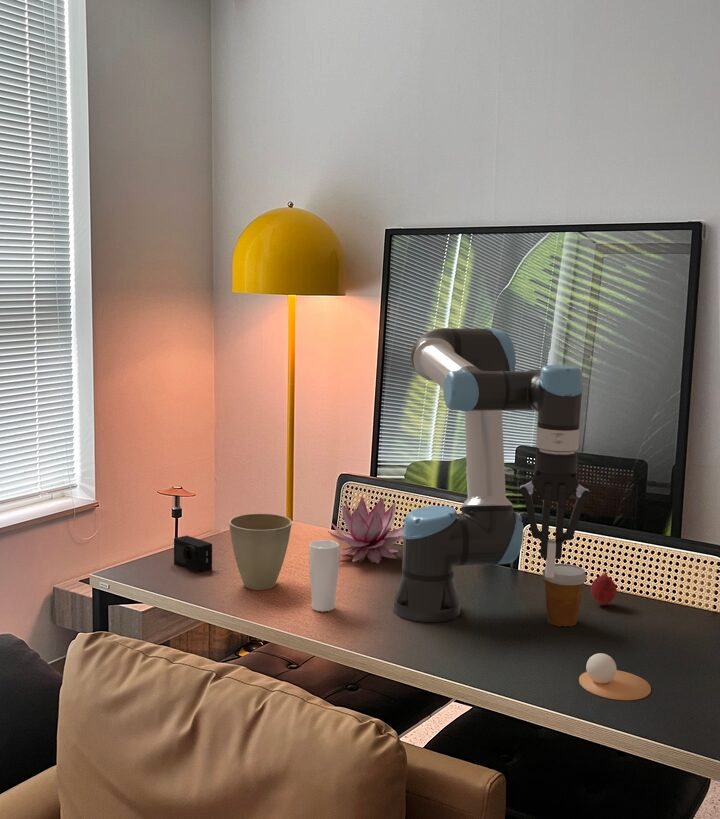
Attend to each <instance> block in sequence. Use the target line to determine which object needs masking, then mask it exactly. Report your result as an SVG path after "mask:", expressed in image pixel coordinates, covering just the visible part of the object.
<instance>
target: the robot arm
mask: <svg viewBox="0 0 720 819" xmlns="http://www.w3.org/2000/svg"><path fill="white" fill-rule="evenodd" d="M516 357H517V356H516V350H515V346H514V343H513V339H511V337H510V336H509V334H508V333H507V332H506V331H504V330H502V329H493V328H489V327H486V328H457V327H456V328H453V327H450V328H449V327H442V328H436V329H431V330H430V331H428V332H425V333H424V334H422V335H420V337H418V339H417V340H415V343H414V344H413V345H412V348H411V351H410V363H411V366H412V368H413V369H414V371H415V372H416V373H417V374H418V375H419V376H420V377H421V378H423V379H424V380H428V381H433V382H434V383H436V385H438V386H439V387H440V388H442V389H443V390H442V391H443V392H442V394H443V400H444V402H445V406H446V407H447V408H448V409H449V410H451V411H461V412H464V429H465V431H464V432H465V455H466V456H465V457H466V458H465V459H466V462H465V463H466V485H467V498H466V500H465V501H464V502H463V503H462V504H461V506H460V507H461V513H458V512H457V510H456V509H455V508H454V507H451V506H448V505H428V506H423V507H418V508H416V509H414V510H413V509H412V510H411V511H410V512H408V513H407V514H406V516H405V517H404V522H403V527H404V529H403V533H402V535H401V536H403V539H402V563H401V564H402V566H401V567H402V569H401V577H400V581H399V583H398V586H397V587H396V588H397V589H396V591H395V594H394V596H393V599H392V600H393V601H392V604H393V606H392V609H393V612H394V613H395V614H396V615H397V616H399V617H401V618H403V619H407V620H410V621H415V622H421V623H422V622H423V623H440V622H446V621H451V620H453V619H455V618H457V617H459V615H460V614H461V601H460V597H459V593H458V590H457V586H456V582H455V578H454V577H455V576H454V575H455V567H457V566H458V567H460V566H463V567H464V566H466V567H467V566H498V565H508V564H511V563H514V561H515V560H516V559H517V558H518V556H519V554H520V552H521V550H522V546H523V542H524V540H523V539H524V524H523V522H522V521H523V519H522V518H523V517H522V516H521V514H520V513H519V512H516V511H514V504H513V503H512V502H511V501H510V500H509V499H508V498H507V496H506V480H505V479H506V474H505V452H504V450H505V448H504V428H503V424H504V423H503V411H510V412H511V411H513V412H514V411H516V412H517V411H518V412H519V411H521V412H522V411H523V412H524V411H527V412H528V411H533V412H537V427H536V441H535V442H536V444H535V445H536V448H538V450H537V451H536V452H535V463H534V473H533V475H532V477H531V480H530V481H529V482H527V483H525V484H523V483H522V484H520V485H519V492H520V494H521V495H522V497H523V500H525V501H524V502H525V506H526V512H527V517H528V521H529V527H530V532H531V536H532V538H533V539H537V540H539V541H540V553H539V555H540V558H541V559H545V567H546V570H545V569H544V570H545V574H546V577H551V578H554V570H555V564H556V560H561V559H562V556H563V554H562V553H563V543H565V542H567V541H572V540H573V538H574V536H575V532H576V529H577V526H578V523H579V520H580V516H581V513H582V512H583V511H582V510H583V508H584V504H585V503H586V501H587V500H588V499H589V498H590V497H591V491H590V489H589V488H587V487H584V486H582V485H581V484H580V481H579V479H578V475H577V473H578V461H579V460H578V457H579V455H578V453H577V452H576V451H577V450H578V449H579V440H580V421H581V410H582V408H581V407H582V394H583V390H584V388H583V372H582V370H581V369H580V368H579V367H577V366H574V365H573V366H570V365H561V364H551V365H543V367H542V368H541V369H526V370H524V371H522V370H521V371H519V370H518V371H517V370H516V365H517V361H516V360H517V359H516ZM534 488H535V490H536V492H537V493H538V495H539V496H540V498H541V499H542V515H541V518H542V519H541V530H539V528H538V524H537V518H536V514H535V508H534V503H533V497H532V495H533V494H534ZM575 491H576V492H575ZM573 493H575V495H576V499H575V502H574V505H573V509H572V511H571V515H570V518H569V520H568V521H569V522H568V524H567V527H566V530H565V531H564V524H565V507H566V501H567V500H568V499H569V498H570V497H571V495H572V494H573ZM553 501H554V502H555V501H556V520H555V537H554V539H552V538H549V534H550V533H549V532H550V519H551V518H550V515H551V505H552V503H551V502H553Z"/></svg>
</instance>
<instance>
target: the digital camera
mask: <svg viewBox="0 0 720 819" xmlns="http://www.w3.org/2000/svg"><path fill="white" fill-rule="evenodd" d="M173 564H174V565H176V566H178V567H181V568H183V569H186V570H189V571H192V572H195V573H197V574H200V573H201V574H202V573H204V572H208V571H212V570H213V543H211V542H208V541H204V540H202V539H199V538H195V537H193V536H189V535H183V536H179V537H174V538H173Z"/></svg>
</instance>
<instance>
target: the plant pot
mask: <svg viewBox="0 0 720 819" xmlns="http://www.w3.org/2000/svg"><path fill="white" fill-rule="evenodd" d="M292 524H293V521H292V519H291V518H289V517H287V516H285V515H281V514H274V513H258V512H257V513H247V514H239V515H237V516H233V517H232V518H230V519H229V521H228V525H229V532H230V533H229V534H230V539H231V545H232V549H233V550H232V551H233V553H234V554H233V555H234V558H235V561H236V566H237V569H238V572H239V575H240V578H241V581H242V583H243V585H244V587H245V588H247V589H249V590H253V591H254V590H255V591H264V590H265V589H266V590H269V589H272V588H274V587H275V585H276V583H277V580H278V578H279V576H280V573H281V570H282V566H283V563H284V560H285V557H286V554H287V549H288V547H289V546H288V545H289V541H290V537H291V532H292V531H291V529H292ZM266 590H265V591H266Z"/></svg>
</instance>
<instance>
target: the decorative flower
mask: <svg viewBox="0 0 720 819" xmlns="http://www.w3.org/2000/svg"><path fill="white" fill-rule="evenodd" d="M396 504H397V503H396V502H393V504H392V505H391V506H390V507H389V508H388V509H387V511H386V506H385V501H384V498H380V499H379V500H378V502H376V504H375V505H374V506H373V508H372V509H371V510H370V512H369V510H368V508H367V504H366V502H365V499H364V497H363V496H362V497H360V499H359V502H358V504H357V507H356V508H354V509H353V511H352V513H351V510H350V508H349V505H348V501H347V500H345V506H344V504H341V508H342V509H341V510H342V511H341V512H342V518H343V521H344V524H345V526H346V529H347V530H348V532H349V533H350V534H348V533H347V532H345V531H343V530H342V529H340V528H339V527H337V526H336V525H335V524H334V523H333V522H330V523H331V525H332V527H333V528H334V530H336V532H337V533H338V534H340V535H342V536H343V537H341V536H339V535H336V534H334V533H332V532H330V531H328V530H327V533H328V534H329V535H330V536H331V537H333V538H335V539H336V540H338V541H340V542H344V543H347V544H348V545H349V546H350V547H346V548H344V547H343V548H341V547H339V550H343V551H346V552H343V553H339V557H343V556H347V555H349V554H352V553H354V554H353V557H352V558H353V559H352V561H351V562H357V561H360V562H359V563H361V562H362V561H363V560H364V559H366V557H367V559H368V560H369V561H370V563H372V564H373V563H377V564H379V563H380V561H383V559H382V558H383V557H385V558H387V559H397V560H398V557H397V556H396V555H395V554H394V553H398V549H397V550H396V549H392V548H390V547H388V546H391V545H395V544H396V543H398V542H400V541H403V535H402V533H403V529H404V526H402V527H399V528H395V529H393V530H391V529H392V526H393V523H394V518H395V514H396V506H397V505H396ZM347 550H348V551H347Z"/></svg>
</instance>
